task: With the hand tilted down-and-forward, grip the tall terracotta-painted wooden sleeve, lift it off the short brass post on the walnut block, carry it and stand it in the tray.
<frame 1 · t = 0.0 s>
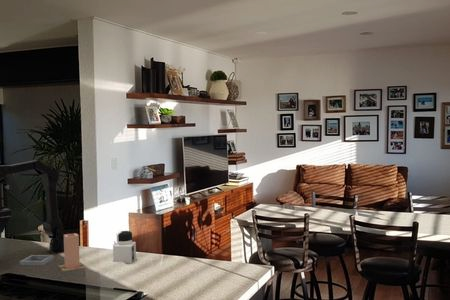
container: (125, 261, 195), on the table
sleeve: (72, 266, 186), point 1 cm above the table, touching stake block
tray: (37, 264, 194), on the table
stake block: (72, 268, 186), on the table
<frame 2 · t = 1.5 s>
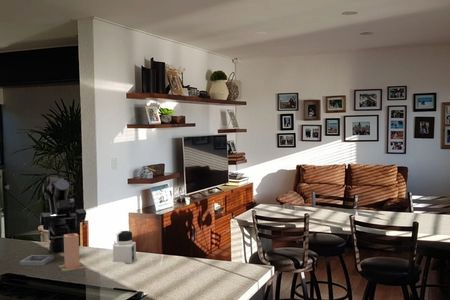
hand: (66, 233, 192), 13 cm above the table, tool tilted 45°, fingers open, 9 cm apart
nothing on the table moved.
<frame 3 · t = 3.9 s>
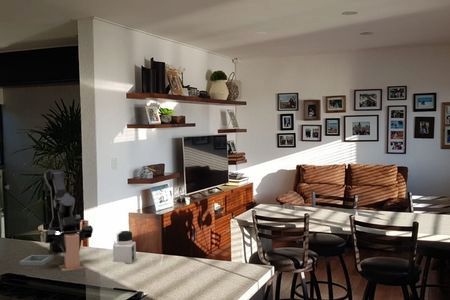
hand: (72, 251, 184), 8 cm above the table, tool tilted 45°, fingers closed on sleeve, 5 cm apart
sleeve: (72, 266, 186), point 1 cm above the table, touching gripper, stake block
everything else where it was.
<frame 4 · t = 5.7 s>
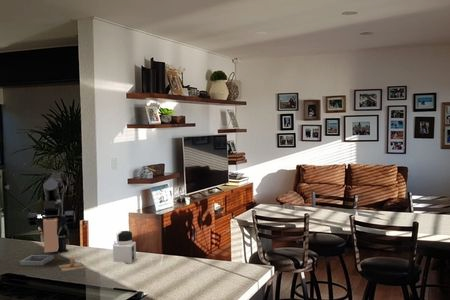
hand: (50, 235, 187), 14 cm above the table, tool tilted 45°, fingers closed on sleeve, 5 cm apart
sleeve: (51, 250, 188), point 7 cm above the table, touching gripper
everything else where it was.
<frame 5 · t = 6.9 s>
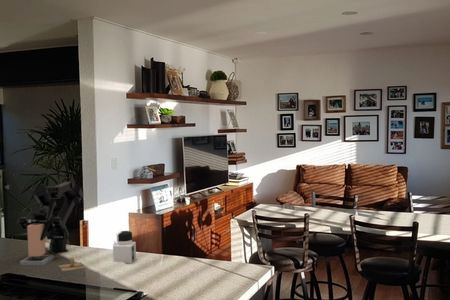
hand: (34, 240, 192), 11 cm above the table, tool tilted 45°, fingers closed on sleeve, 5 cm apart
sleeve: (37, 254, 194), point 4 cm above the table, touching gripper
everything else where it was.
when the fingers open (8 cm above the table, at t = 7.7 s): sleeve drops 1 cm, resting on tray.
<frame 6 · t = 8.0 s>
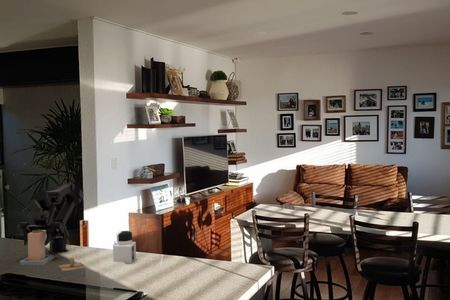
hand: (34, 245, 192), 9 cm above the table, tool tilted 45°, fingers open, 9 cm apart
sleeve: (37, 262, 194), point 1 cm above the table, touching tray
everything else where it was.
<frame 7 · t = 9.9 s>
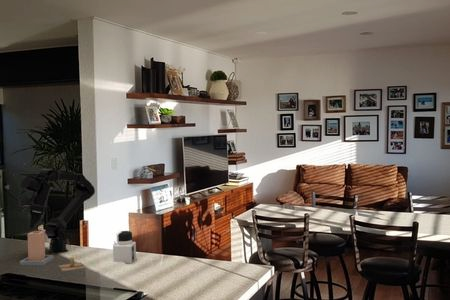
hand: (31, 228, 202), 14 cm above the table, tool tilted 25°, fingers open, 9 cm apart
nothing on the table moved.
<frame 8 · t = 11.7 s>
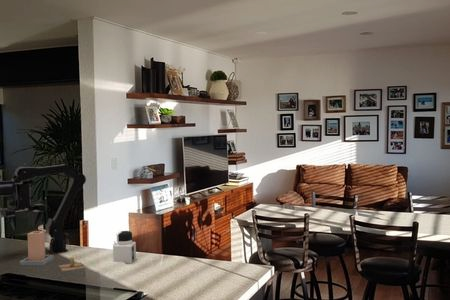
hand: (24, 228, 206), 13 cm above the table, tool pointing down, fingers open, 9 cm apart
nothing on the table moved.
at the end: sleeve 0.1 cm from the tray (horizontally); sleeve point 0.6 cm above the table; the gripper is holding nothing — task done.
